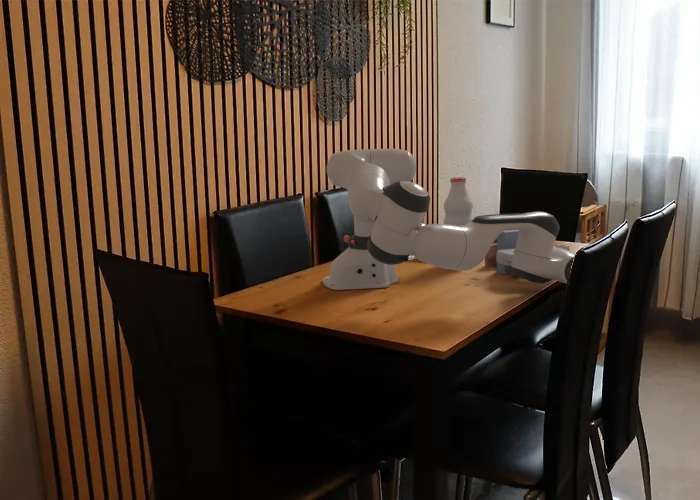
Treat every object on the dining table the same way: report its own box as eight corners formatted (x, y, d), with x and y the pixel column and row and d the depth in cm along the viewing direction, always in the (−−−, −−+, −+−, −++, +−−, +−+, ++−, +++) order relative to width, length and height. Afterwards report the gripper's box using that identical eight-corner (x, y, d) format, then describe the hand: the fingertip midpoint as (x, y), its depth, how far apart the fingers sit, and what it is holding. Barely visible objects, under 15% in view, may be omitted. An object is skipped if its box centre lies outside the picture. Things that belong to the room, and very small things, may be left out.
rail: (513, 278, 207) (513, 254, 206) (484, 265, 224) (485, 244, 223) (534, 275, 209) (534, 252, 207) (504, 263, 226) (504, 242, 225)
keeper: (504, 274, 211) (505, 232, 209) (496, 270, 216) (497, 229, 213) (527, 271, 213) (527, 230, 211) (518, 268, 218) (519, 227, 216)
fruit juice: (461, 259, 234) (461, 175, 229) (479, 264, 226) (479, 177, 220) (438, 263, 230) (437, 178, 224) (455, 268, 222) (454, 180, 216)
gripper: (509, 273, 196) (486, 263, 209) (573, 266, 201) (547, 257, 214) (509, 251, 195) (486, 243, 208) (574, 245, 200) (547, 237, 213)
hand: (517, 250), depth 211 cm, fingers closed, pressing on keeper
